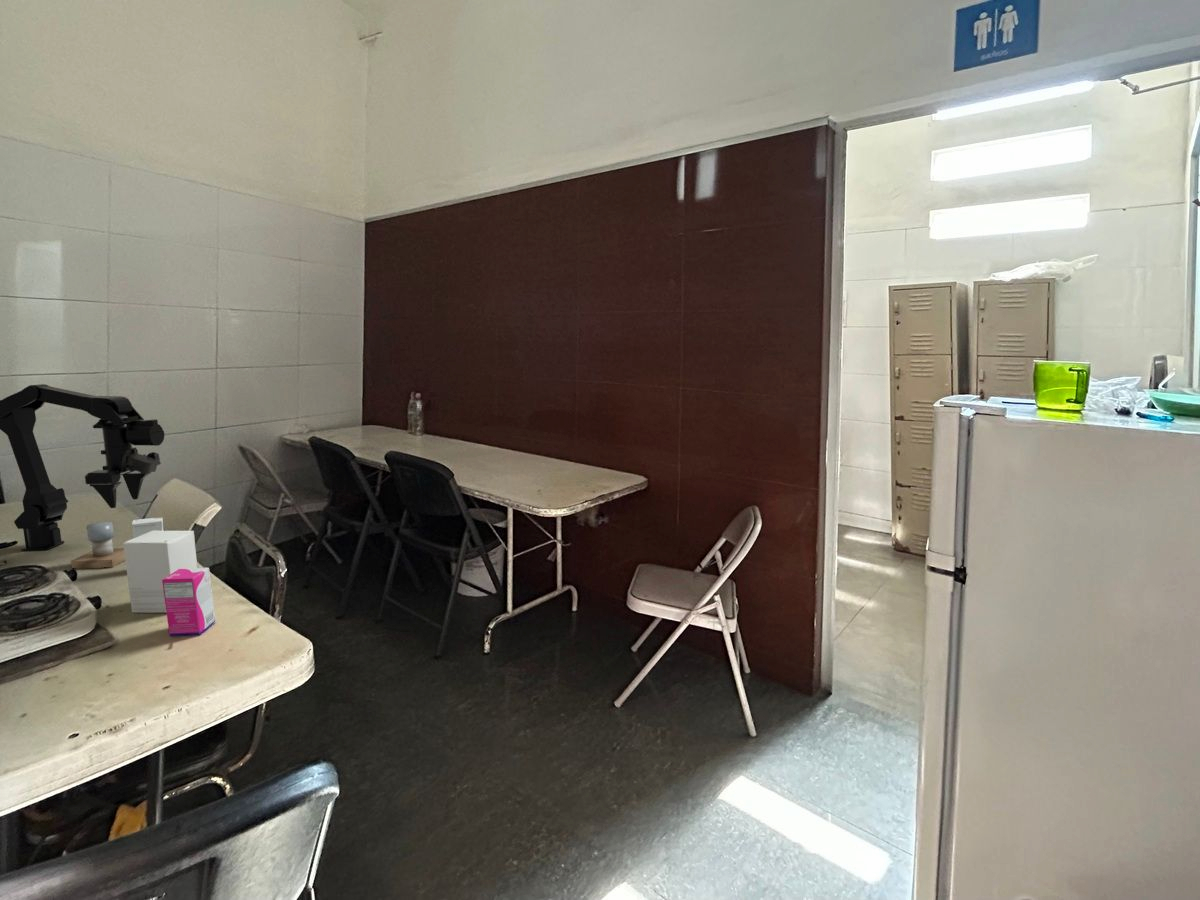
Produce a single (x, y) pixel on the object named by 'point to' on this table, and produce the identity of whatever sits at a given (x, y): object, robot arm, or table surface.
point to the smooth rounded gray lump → (100, 531)
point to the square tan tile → (100, 556)
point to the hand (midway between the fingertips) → (124, 503)
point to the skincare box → (146, 526)
